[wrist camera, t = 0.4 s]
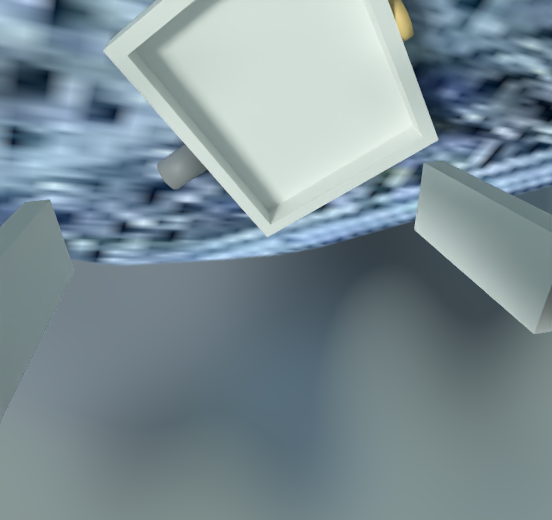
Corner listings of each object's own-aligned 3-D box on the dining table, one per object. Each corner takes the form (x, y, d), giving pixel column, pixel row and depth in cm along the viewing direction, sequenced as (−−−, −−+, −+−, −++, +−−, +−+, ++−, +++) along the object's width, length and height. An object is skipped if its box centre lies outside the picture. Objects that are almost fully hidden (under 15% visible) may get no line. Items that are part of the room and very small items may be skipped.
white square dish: (336, -155, 26) (350, -159, 24) (433, 118, 40) (449, 134, 38) (76, 67, 33) (65, 83, 31) (235, 234, 47) (237, 254, 45)
